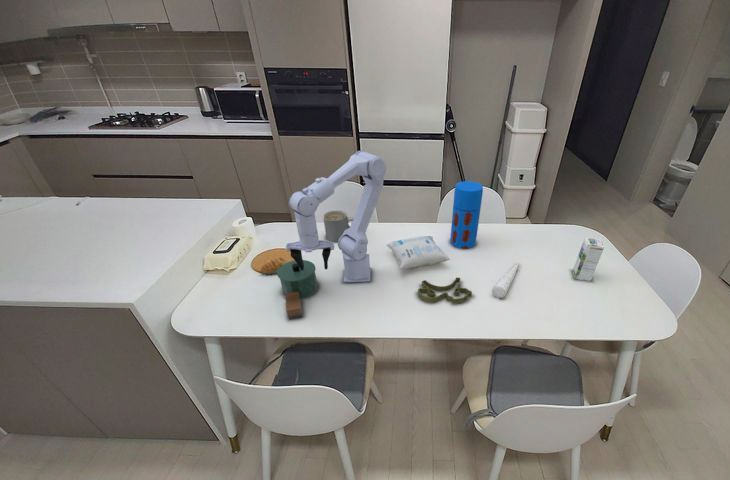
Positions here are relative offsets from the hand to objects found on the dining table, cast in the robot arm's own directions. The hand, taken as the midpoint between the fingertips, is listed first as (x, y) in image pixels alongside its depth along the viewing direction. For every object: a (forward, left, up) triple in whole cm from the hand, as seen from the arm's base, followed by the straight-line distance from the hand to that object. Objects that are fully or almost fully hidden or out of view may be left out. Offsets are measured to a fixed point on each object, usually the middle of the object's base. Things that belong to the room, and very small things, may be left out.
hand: (314, 268), depth 115 cm
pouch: (-36, -18, -11) cm, 42 cm away
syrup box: (-96, -2, -11) cm, 97 cm away
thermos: (-57, -30, -11) cm, 65 cm away
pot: (+7, -3, -10) cm, 13 cm away
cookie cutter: (-43, +4, -11) cm, 45 cm away
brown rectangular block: (+7, +8, -10) cm, 15 cm away
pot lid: (+7, -3, -3) cm, 8 cm away
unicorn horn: (-67, -1, -11) cm, 68 cm away
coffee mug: (-5, -40, -11) cm, 42 cm away
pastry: (+18, -16, -11) cm, 26 cm away
